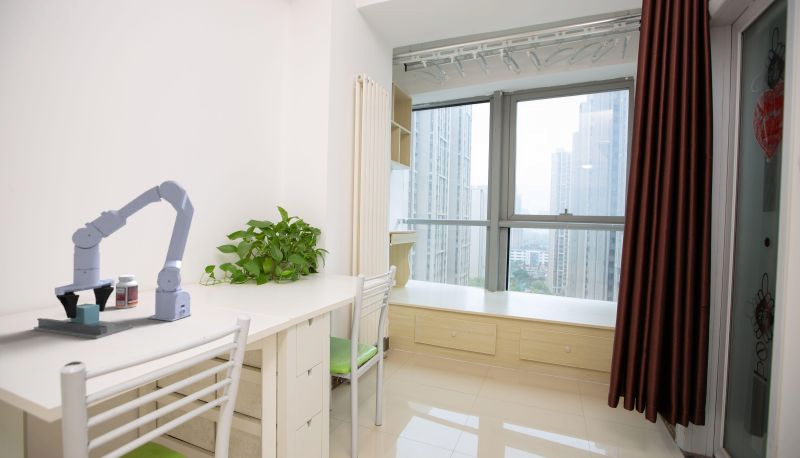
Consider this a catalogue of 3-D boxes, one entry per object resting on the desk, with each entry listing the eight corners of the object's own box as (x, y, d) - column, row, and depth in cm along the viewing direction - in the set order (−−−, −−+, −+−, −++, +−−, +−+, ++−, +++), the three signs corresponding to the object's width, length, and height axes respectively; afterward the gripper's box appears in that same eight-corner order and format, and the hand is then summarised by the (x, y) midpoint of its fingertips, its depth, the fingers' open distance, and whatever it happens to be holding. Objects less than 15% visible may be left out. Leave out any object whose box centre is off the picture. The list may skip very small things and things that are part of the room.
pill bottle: (137, 303, 127) (137, 273, 126) (138, 307, 122) (138, 276, 122) (115, 305, 123) (115, 275, 122) (115, 309, 118) (115, 277, 118)
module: (100, 321, 103) (100, 304, 103) (84, 325, 99) (84, 308, 99) (87, 319, 104) (87, 303, 104) (70, 323, 100) (70, 306, 100)
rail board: (133, 327, 101) (133, 317, 101) (96, 339, 91) (96, 327, 91) (74, 320, 106) (74, 310, 105) (33, 330, 96) (33, 319, 96)
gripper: (102, 264, 109) (101, 307, 109) (46, 271, 95) (46, 319, 95) (120, 266, 107) (119, 309, 108) (66, 272, 93) (65, 322, 94)
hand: (86, 314), depth 101 cm, fingers open, 7 cm apart
